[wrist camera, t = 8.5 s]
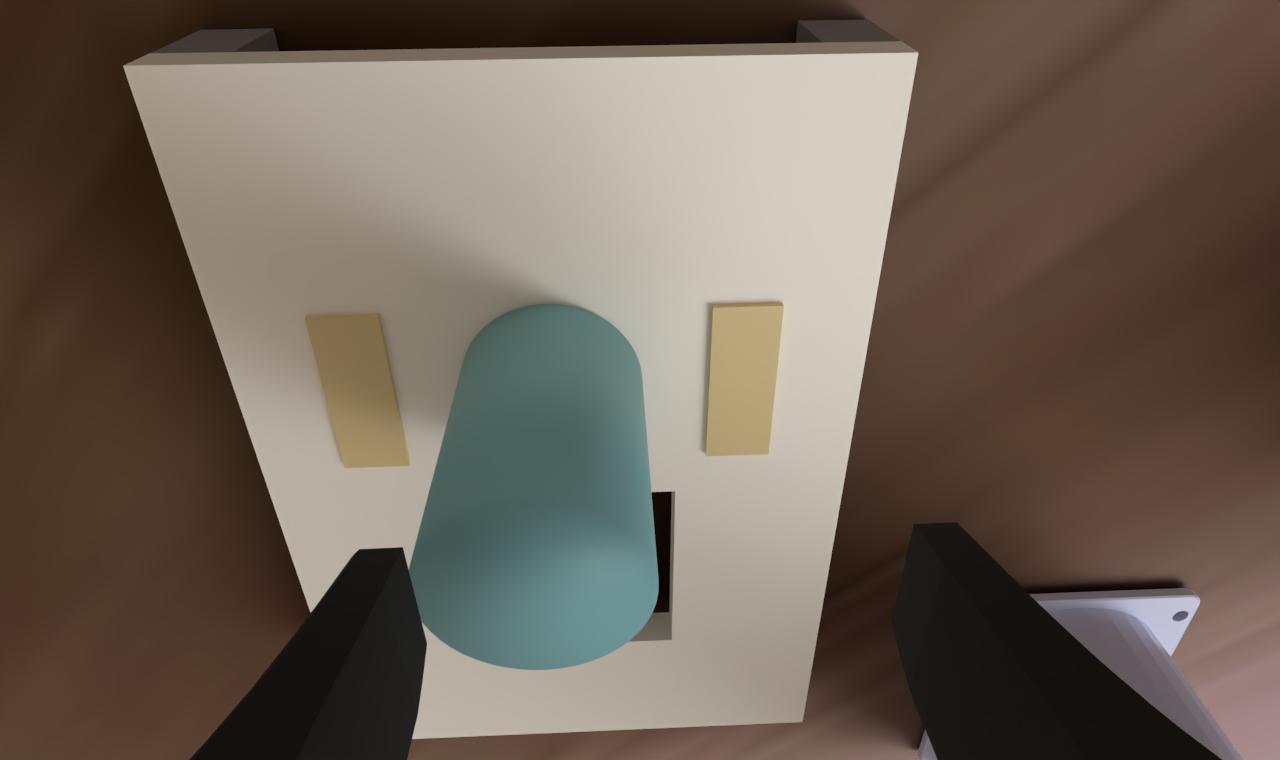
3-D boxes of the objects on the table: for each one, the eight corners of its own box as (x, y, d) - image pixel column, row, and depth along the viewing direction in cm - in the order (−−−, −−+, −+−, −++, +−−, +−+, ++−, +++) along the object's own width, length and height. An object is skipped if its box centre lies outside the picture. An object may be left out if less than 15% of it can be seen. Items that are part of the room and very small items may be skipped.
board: (782, 636, 28) (803, 726, 25) (378, 653, 28) (353, 745, 25) (867, 19, 17) (920, 54, 14) (200, 29, 17) (118, 67, 14)
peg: (638, 383, 22) (660, 677, 14) (476, 378, 22) (408, 676, 14) (649, 233, 20) (683, 489, 12) (467, 226, 19) (379, 483, 12)
